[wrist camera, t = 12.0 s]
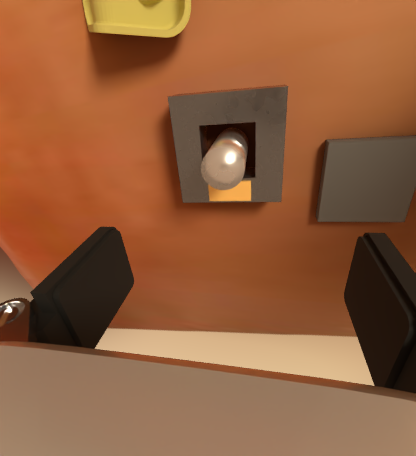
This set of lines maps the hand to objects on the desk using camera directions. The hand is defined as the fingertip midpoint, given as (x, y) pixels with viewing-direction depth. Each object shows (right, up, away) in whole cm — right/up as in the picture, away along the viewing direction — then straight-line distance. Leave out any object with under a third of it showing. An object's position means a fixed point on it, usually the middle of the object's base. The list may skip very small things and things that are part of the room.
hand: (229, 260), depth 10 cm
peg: (+2, +12, +22) cm, 25 cm away
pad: (+18, +7, +21) cm, 29 cm away
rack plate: (+2, +12, +22) cm, 25 cm away
